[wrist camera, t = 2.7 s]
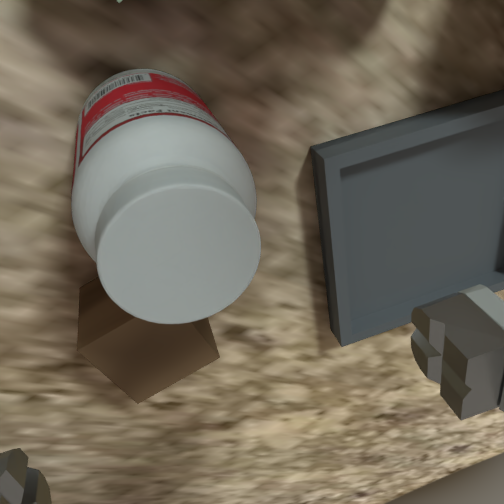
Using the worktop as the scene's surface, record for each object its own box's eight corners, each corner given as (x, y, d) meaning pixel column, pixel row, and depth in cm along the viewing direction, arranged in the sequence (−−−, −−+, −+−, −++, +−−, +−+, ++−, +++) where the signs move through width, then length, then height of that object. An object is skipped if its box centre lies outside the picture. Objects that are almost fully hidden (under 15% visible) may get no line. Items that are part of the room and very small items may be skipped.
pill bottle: (178, 209, 24) (226, 359, 16) (58, 166, 22) (33, 320, 13) (232, 102, 22) (325, 205, 13) (107, 37, 19) (118, 115, 10)
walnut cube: (79, 287, 25) (77, 350, 21) (158, 241, 25) (170, 297, 21) (131, 339, 28) (137, 403, 24) (202, 299, 28) (219, 357, 24)
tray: (310, 146, 25) (324, 159, 23) (538, 79, 26) (564, 86, 25) (330, 329, 33) (341, 346, 31) (503, 268, 34) (521, 282, 33)
